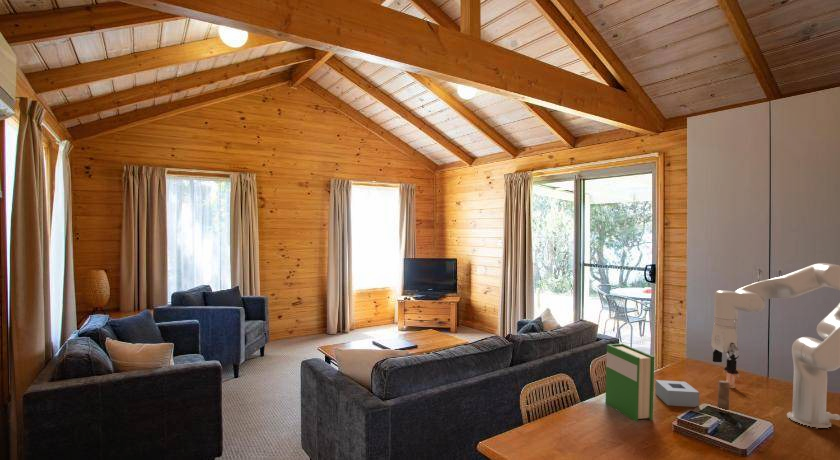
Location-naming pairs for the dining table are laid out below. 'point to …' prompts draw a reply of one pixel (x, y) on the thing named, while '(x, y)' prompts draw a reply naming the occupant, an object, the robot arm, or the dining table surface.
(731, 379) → the grandmother figurine
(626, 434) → the dining table surface
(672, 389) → the socket block
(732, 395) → the dining table surface
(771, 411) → the dining table surface
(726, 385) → the peg
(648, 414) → the hardback book
